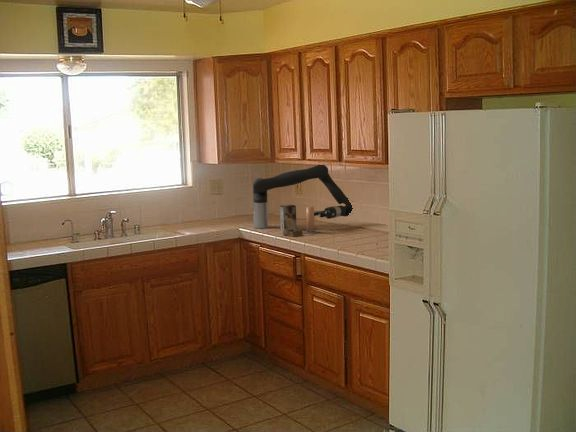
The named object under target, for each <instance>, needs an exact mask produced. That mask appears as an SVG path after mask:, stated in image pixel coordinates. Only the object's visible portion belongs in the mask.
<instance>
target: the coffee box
mask: <svg viewBox="0 0 576 432" xmlns="http://www.w3.org/2000/svg"><path fill="white" fill-rule="evenodd" d="M296 208H297V206H296V205H294V204H286V205H279V218H280V219H279V220H280V230H281V231H285V230H291V229H296V230H298V229H297V226H298V225H297V209H296Z"/></svg>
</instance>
